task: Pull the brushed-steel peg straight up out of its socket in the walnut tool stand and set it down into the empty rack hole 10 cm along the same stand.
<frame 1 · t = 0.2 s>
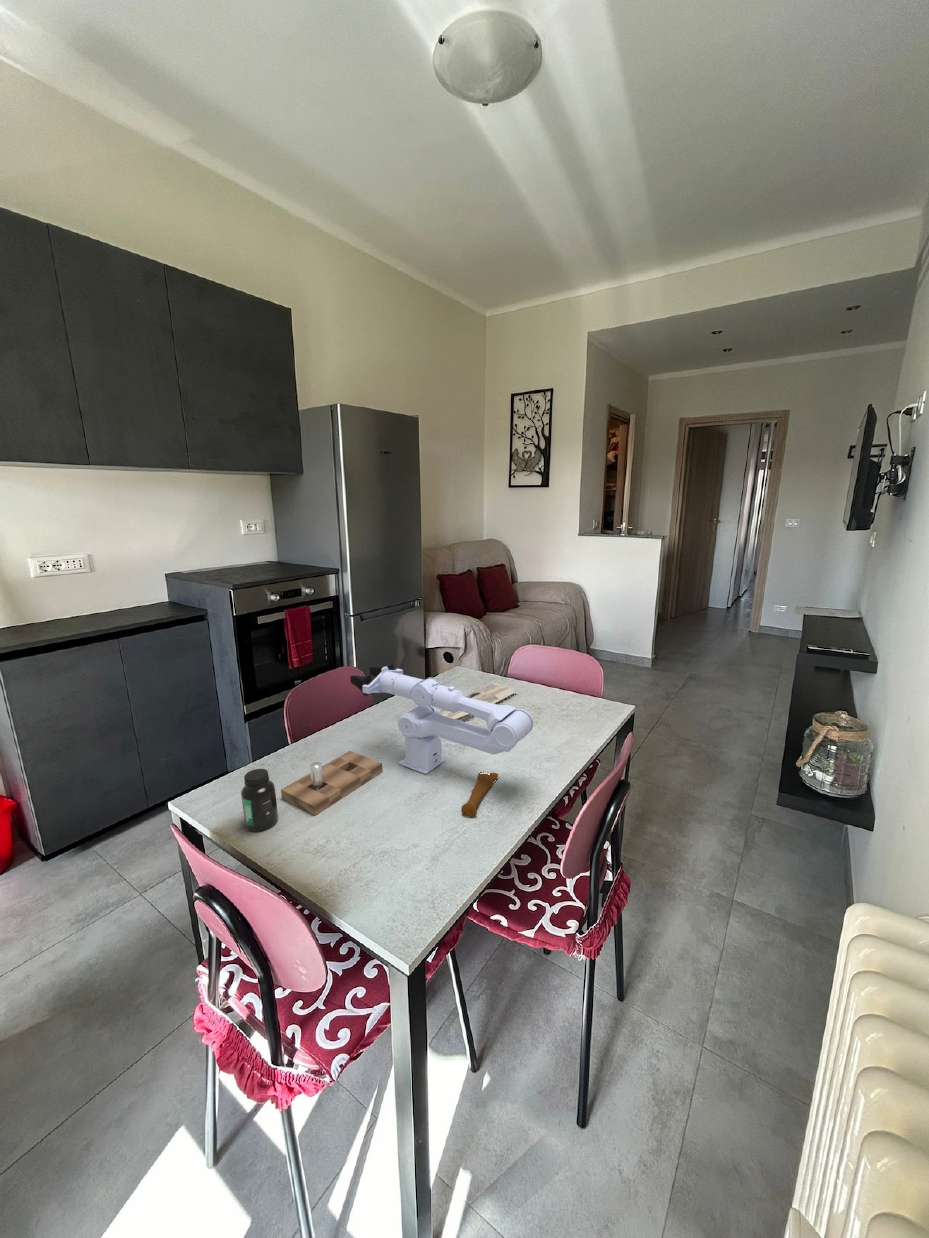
hand: (361, 674, 138), 22 cm above the table, tool horizontal, fingers open, 7 cm apart
primitive tool: (478, 795, 120), on the table
newspaper: (477, 707, 170), on the table
steel peg: (318, 794, 119), resting in tool stand
tool stand: (334, 784, 123), on the table
supplement bottle: (262, 823, 109), on the table
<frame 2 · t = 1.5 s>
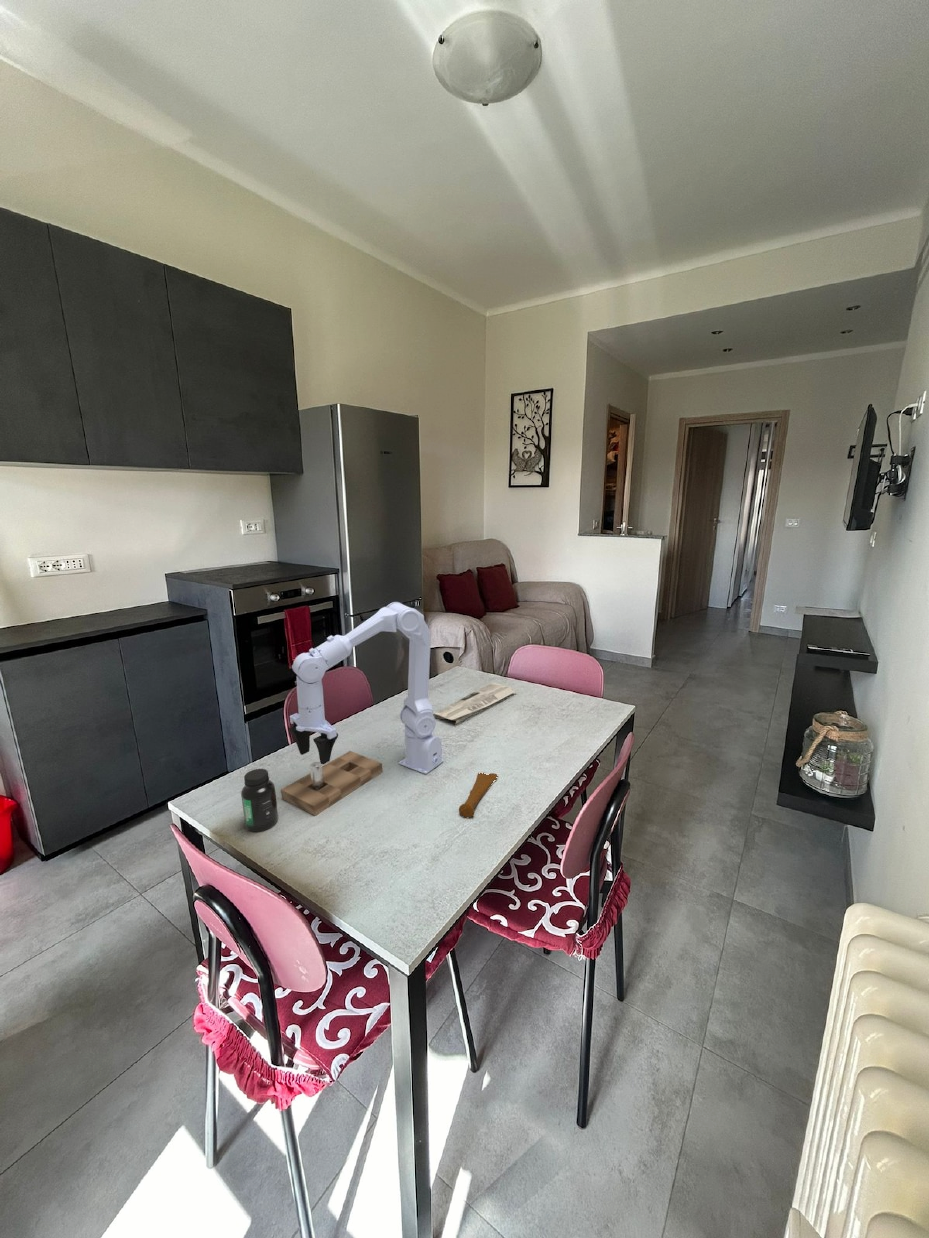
hand: (314, 757, 118), 10 cm above the table, tool pointing down, fingers open, 7 cm apart
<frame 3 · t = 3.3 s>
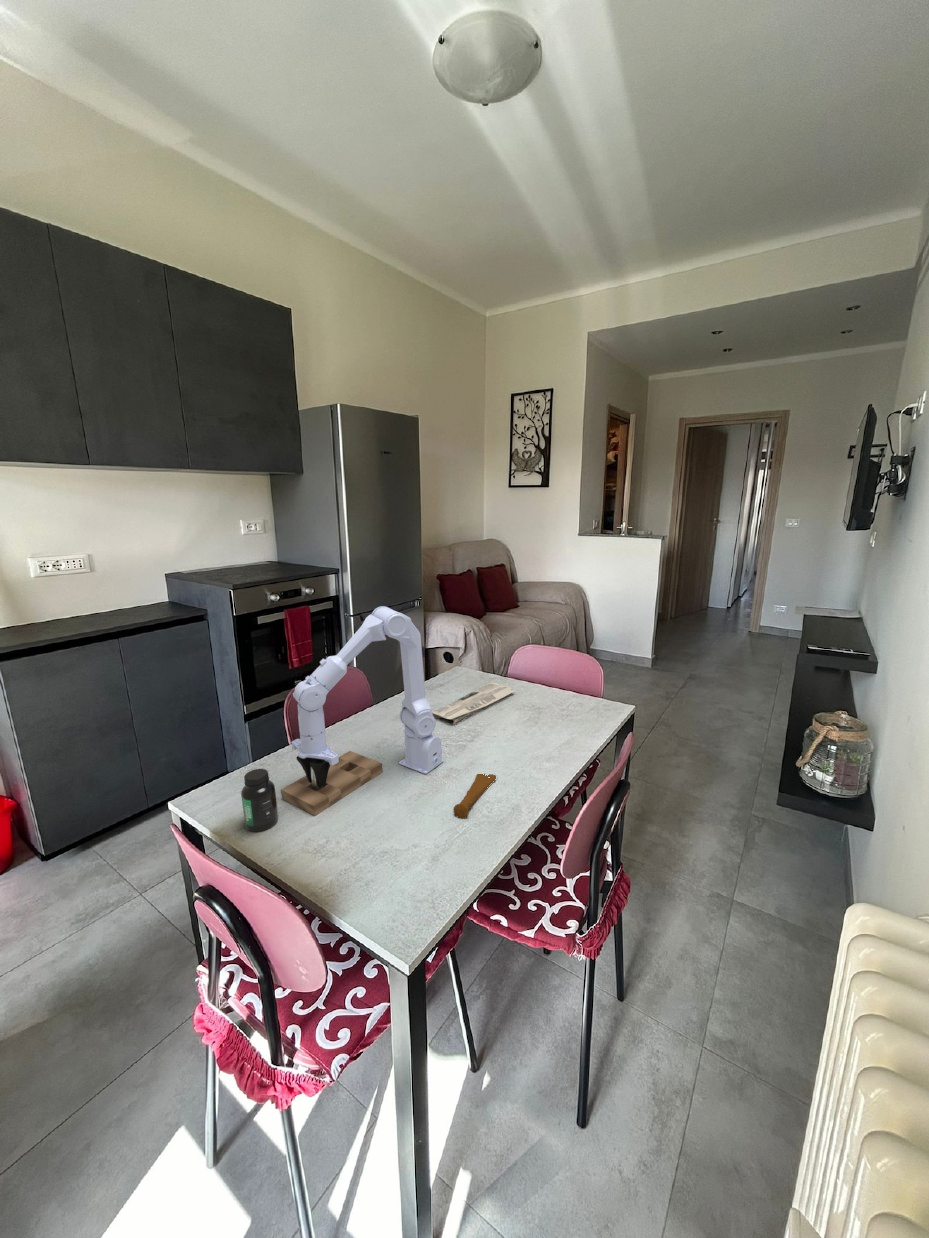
hand: (317, 782, 119), 3 cm above the table, tool pointing down, fingers closed on steel peg, 3 cm apart
steel peg: (318, 794, 119), resting in tool stand, touching gripper
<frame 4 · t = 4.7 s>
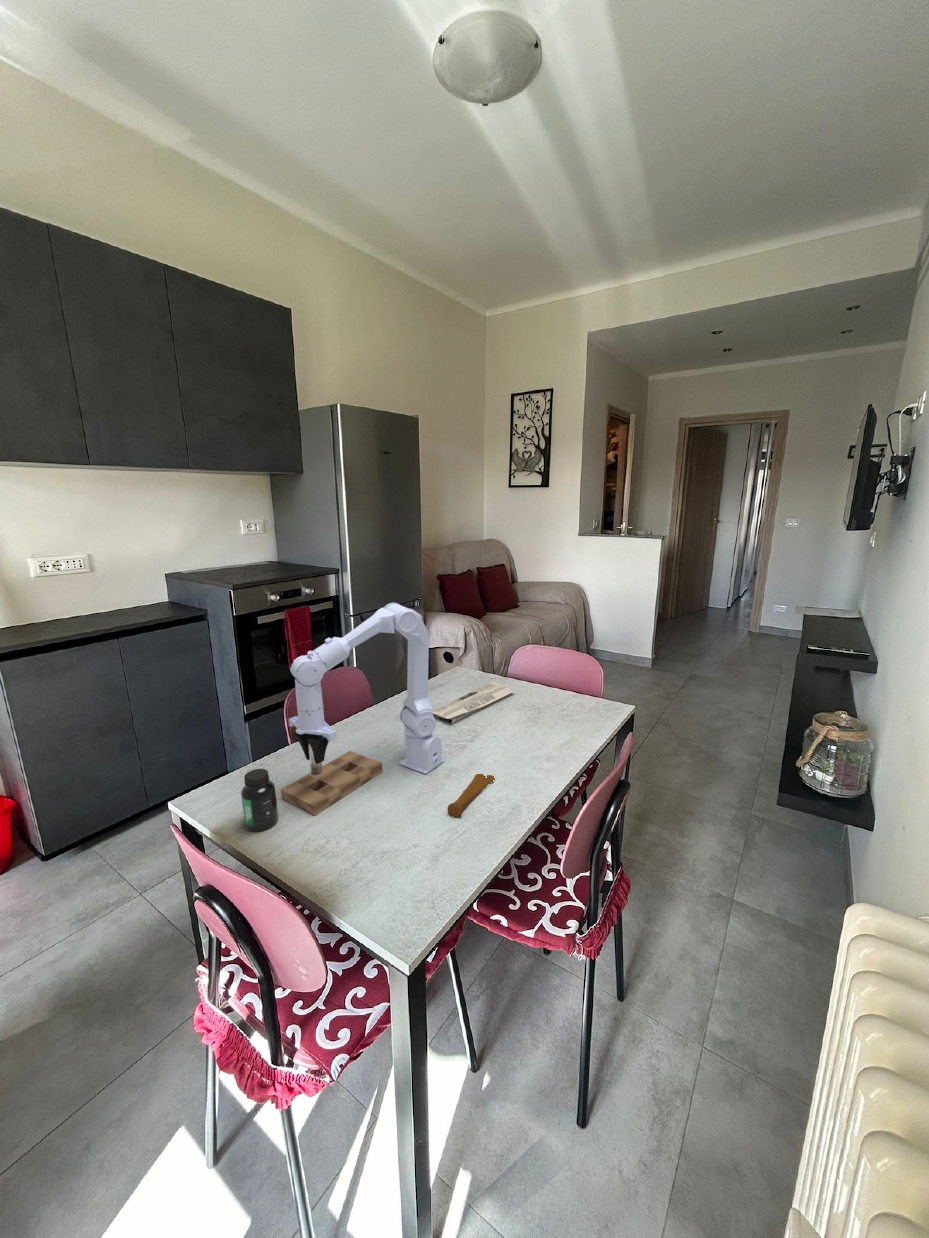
hand: (315, 759, 117), 9 cm above the table, tool pointing down, fingers closed on steel peg, 3 cm apart
steel peg: (316, 772, 118), point 6 cm above the table, touching gripper
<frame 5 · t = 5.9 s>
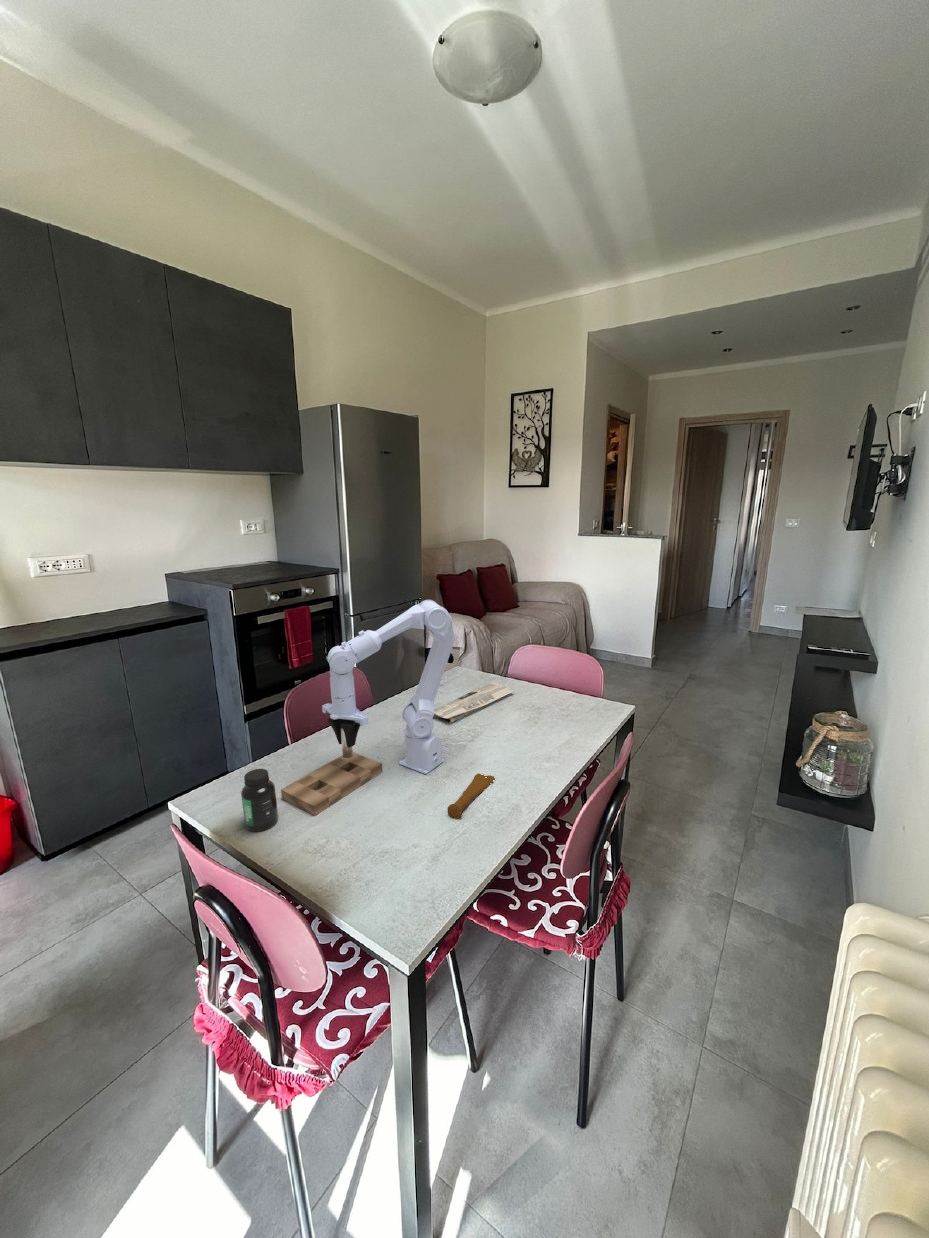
hand: (346, 744, 125), 9 cm above the table, tool pointing down, fingers closed on steel peg, 3 cm apart
steel peg: (347, 755, 126), point 6 cm above the table, touching gripper
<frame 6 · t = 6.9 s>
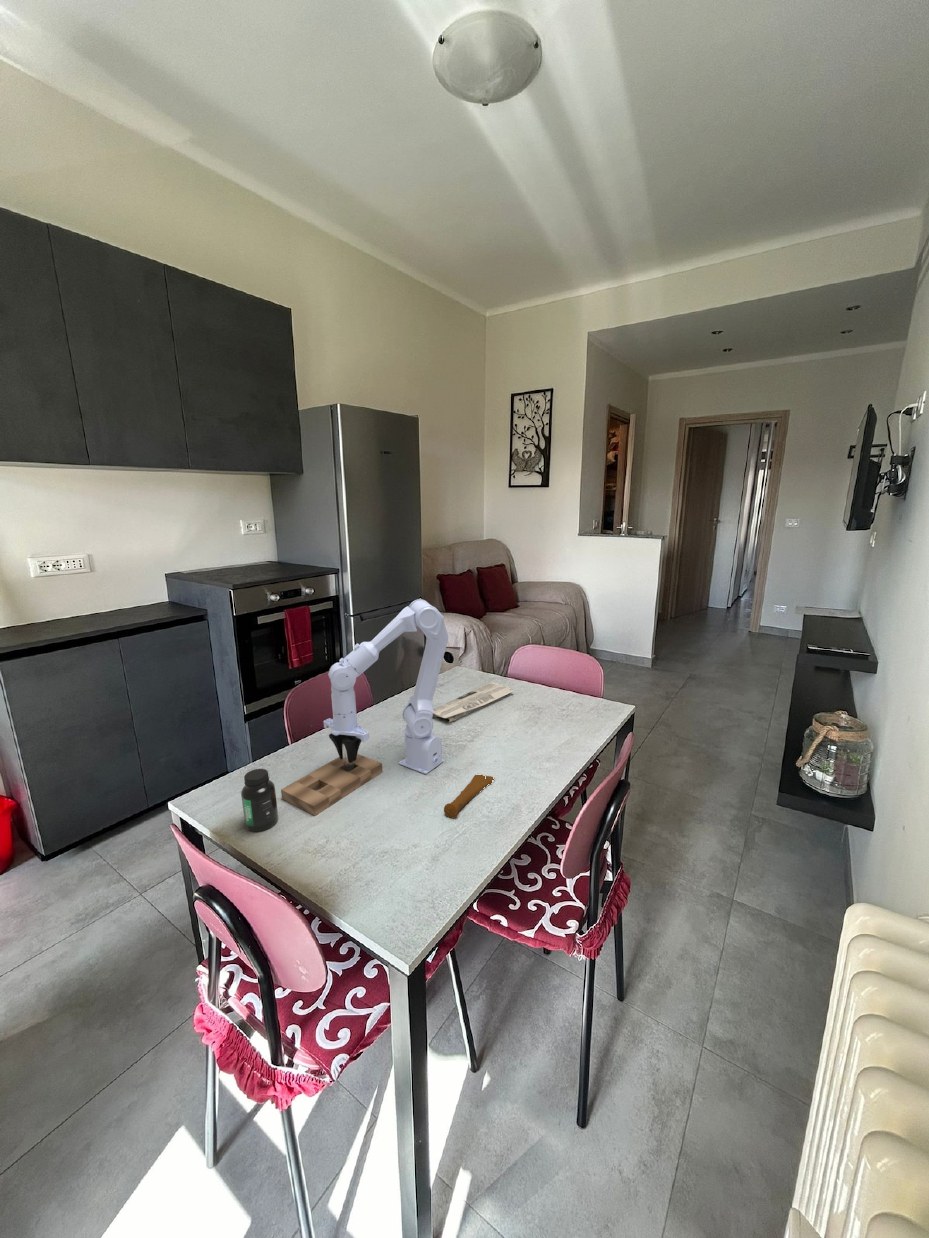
hand: (348, 759, 126), 5 cm above the table, tool pointing down, fingers closed on steel peg, 3 cm apart
steel peg: (349, 770, 127), point 1 cm above the table, touching gripper
when the fingers open (5 cm above the table, at t = 7.2 s): steel peg drops 2 cm, resting in tool stand.
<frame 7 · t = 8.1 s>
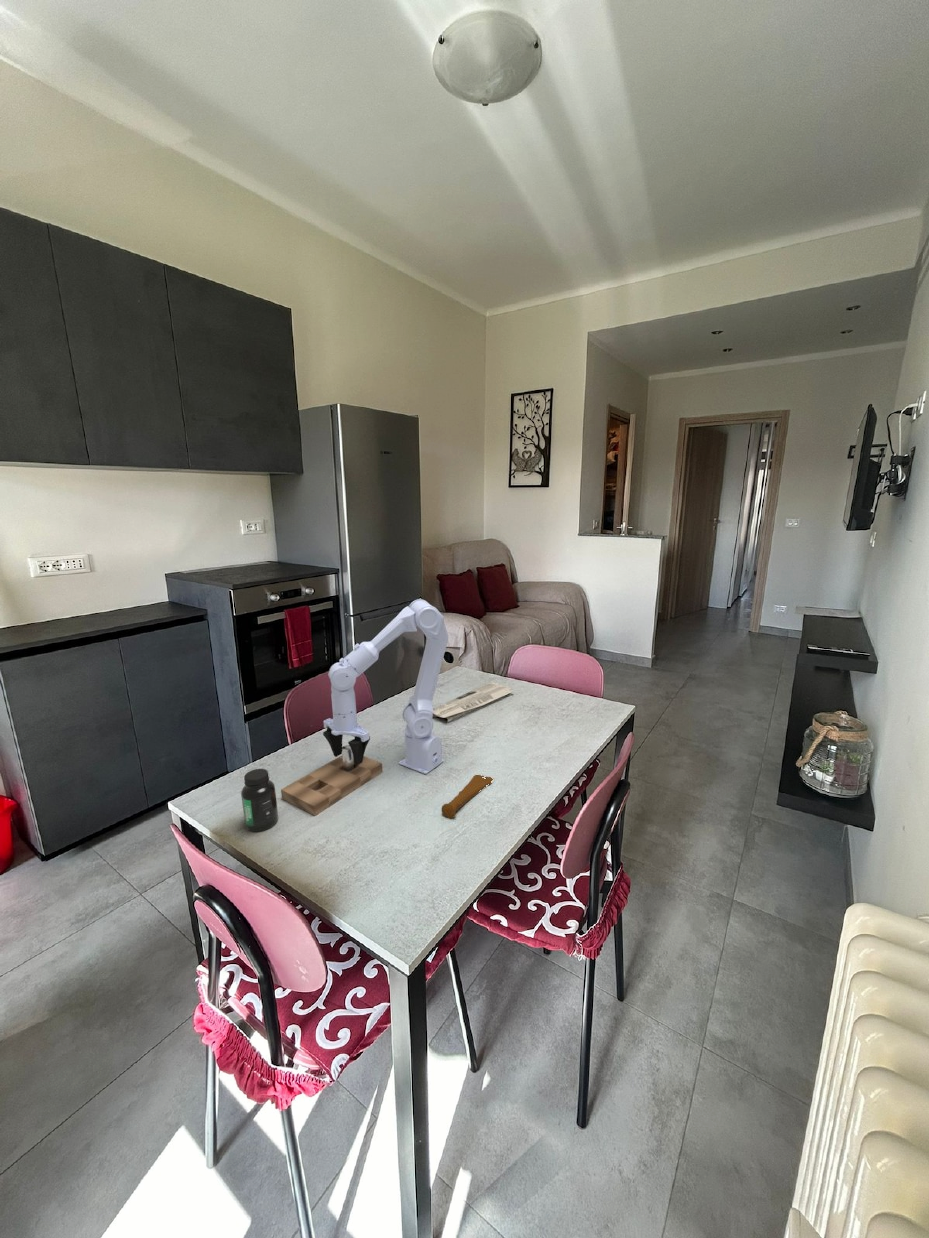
hand: (348, 759, 126), 5 cm above the table, tool pointing down, fingers open, 7 cm apart
steel peg: (349, 775, 127), resting in tool stand
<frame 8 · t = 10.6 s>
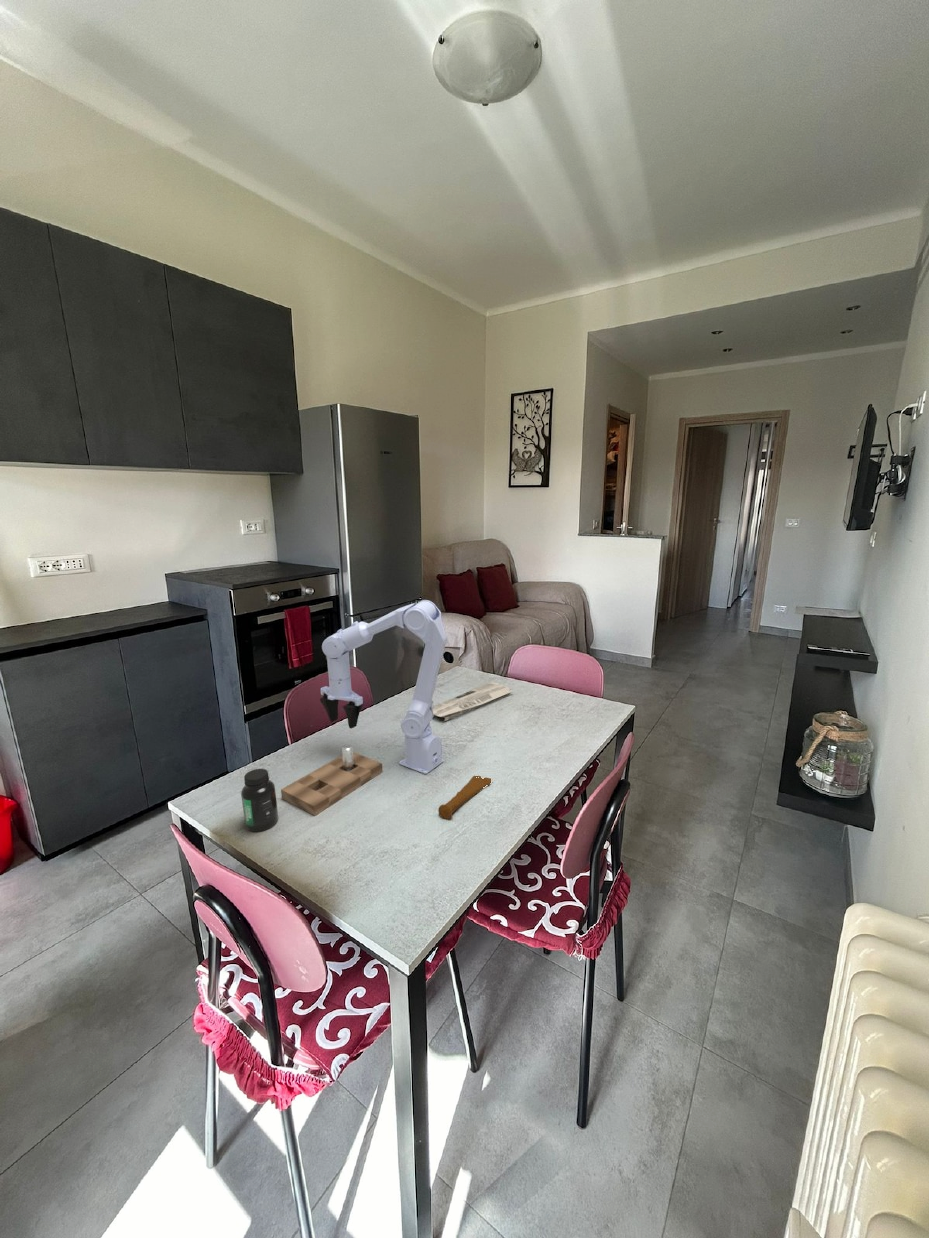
hand: (343, 723, 136), 9 cm above the table, tool pointing down, fingers open, 7 cm apart
at the end: steel peg 0.0 cm from the target spot on the tool stand, point 0.0 cm above the tool stand's base; steel peg tilted 0°; the gripper is holding nothing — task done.
